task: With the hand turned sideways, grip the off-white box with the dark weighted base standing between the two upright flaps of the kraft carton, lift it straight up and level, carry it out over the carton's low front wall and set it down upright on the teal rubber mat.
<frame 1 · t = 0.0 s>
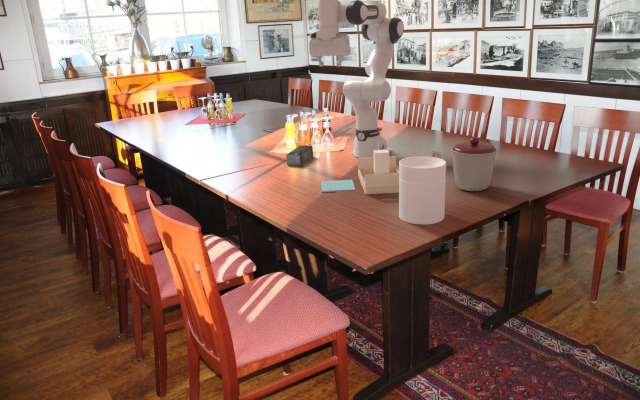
hand: (330, 66, 232), 48 cm above the table, tool pointing down, fingers open, 8 cm apart
canister 2: (472, 188, 214), on the table
architectural model: (435, 168, 245), on the table
carton: (381, 184, 224), on the table
mat: (337, 186, 223), on the table
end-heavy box: (381, 183, 223), resting on carton
canister: (421, 216, 186), on the table
beverage carton: (300, 161, 267), on the table
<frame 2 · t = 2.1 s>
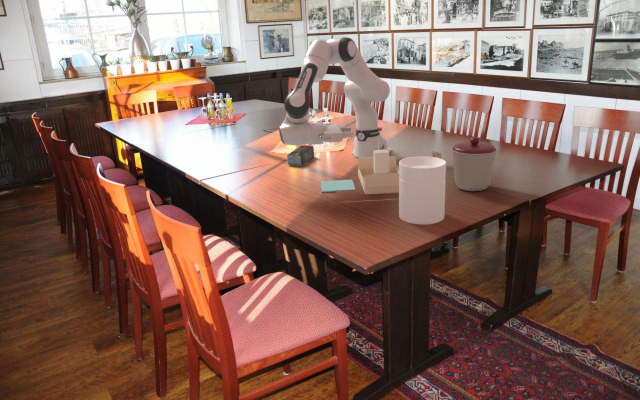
hand: (352, 131, 216), 23 cm above the table, tool horizontal, fingers open, 8 cm apart
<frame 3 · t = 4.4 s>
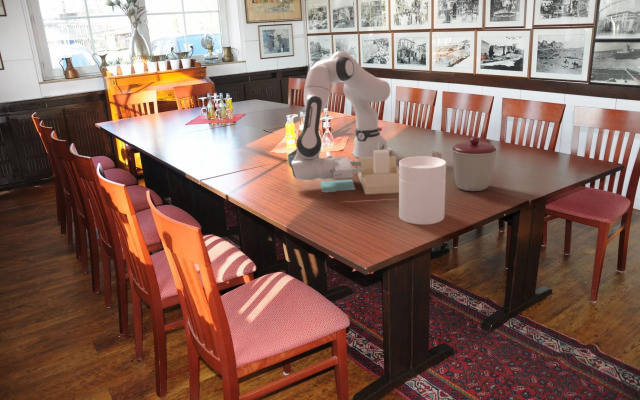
hand: (362, 166, 221), 8 cm above the table, tool horizontal, fingers open, 8 cm apart
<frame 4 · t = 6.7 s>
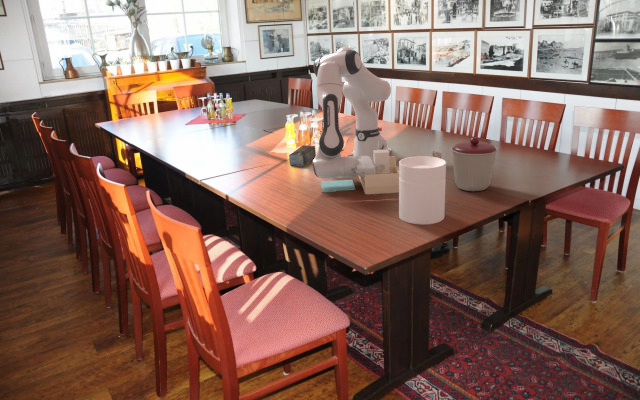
hand: (383, 165, 221), 9 cm above the table, tool horizontal, fingers closed on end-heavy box, 5 cm apart
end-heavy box: (381, 183, 223), point 1 cm above the table, touching carton, gripper
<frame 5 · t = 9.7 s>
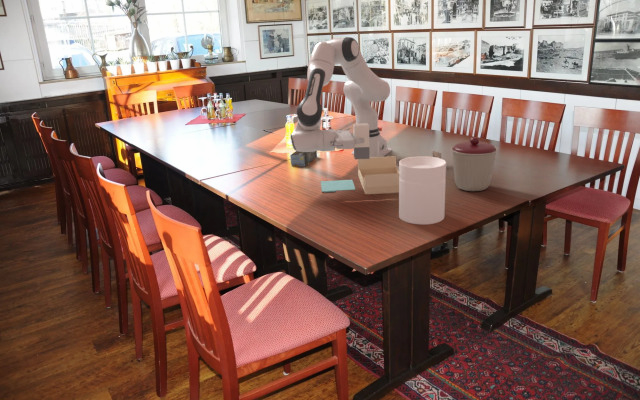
hand: (363, 138, 217), 20 cm above the table, tool horizontal, fingers closed on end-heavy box, 5 cm apart
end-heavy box: (361, 157, 219), point 12 cm above the table, touching gripper
when the fingers open (10 cm above the table, at t = 12.9 s): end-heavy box drops 1 cm, resting on mat.
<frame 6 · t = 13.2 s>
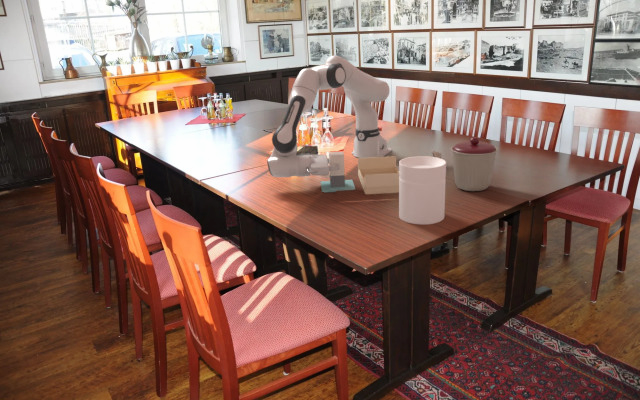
hand: (338, 164, 220), 10 cm above the table, tool horizontal, fingers open, 8 cm apart
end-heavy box: (337, 185, 223), point 1 cm above the table, touching mat
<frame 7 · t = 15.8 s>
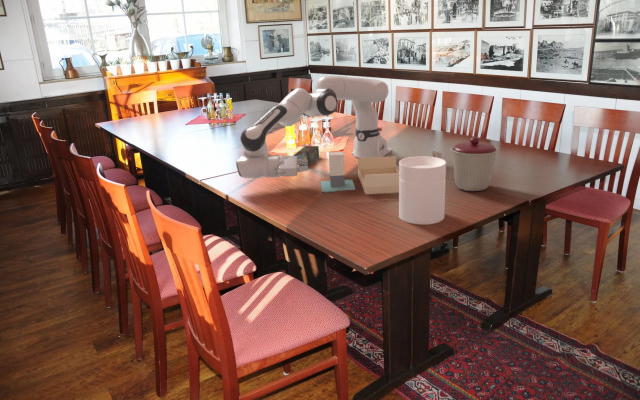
hand: (308, 165, 220), 10 cm above the table, tool horizontal, fingers open, 8 cm apart
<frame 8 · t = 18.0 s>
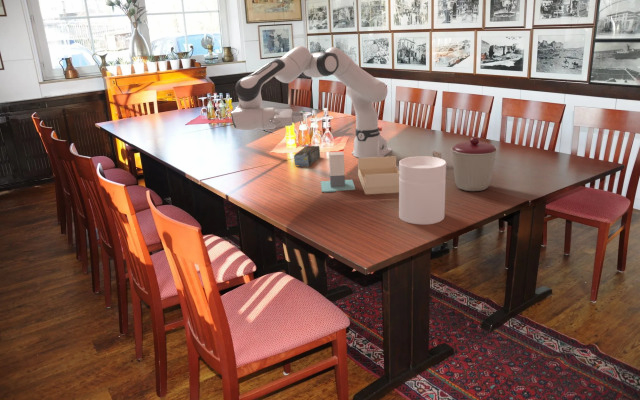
hand: (303, 116, 218), 30 cm above the table, tool horizontal, fingers open, 8 cm apart
at the end: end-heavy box inside the target area on the mat (0.1 cm from its centre), point 0.6 cm above the mat's base; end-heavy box tilted 0°; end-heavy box touching mat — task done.
